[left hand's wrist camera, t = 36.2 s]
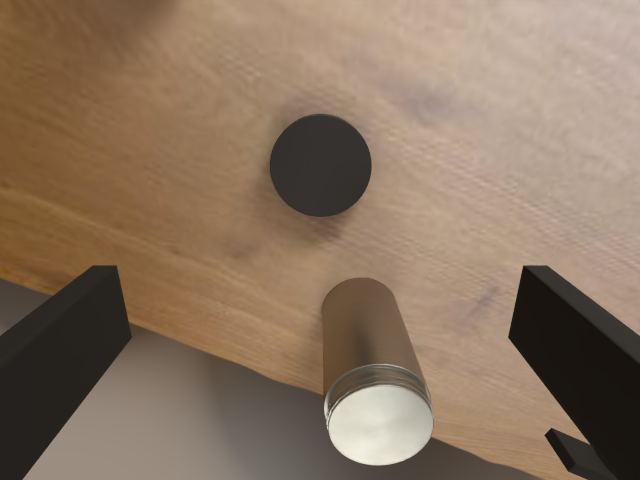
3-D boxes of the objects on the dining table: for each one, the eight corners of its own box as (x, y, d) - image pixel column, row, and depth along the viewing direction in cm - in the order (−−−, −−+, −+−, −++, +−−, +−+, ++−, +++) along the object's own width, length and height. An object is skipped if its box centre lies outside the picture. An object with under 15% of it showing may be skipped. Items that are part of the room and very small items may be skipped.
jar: (406, 286, 43) (455, 394, 28) (384, 348, 46) (416, 476, 31) (332, 270, 43) (340, 371, 27) (314, 333, 46) (312, 458, 30)
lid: (252, 158, 38) (248, 161, 36) (327, 91, 36) (327, 91, 34) (314, 228, 41) (314, 235, 39) (387, 170, 39) (391, 175, 37)
